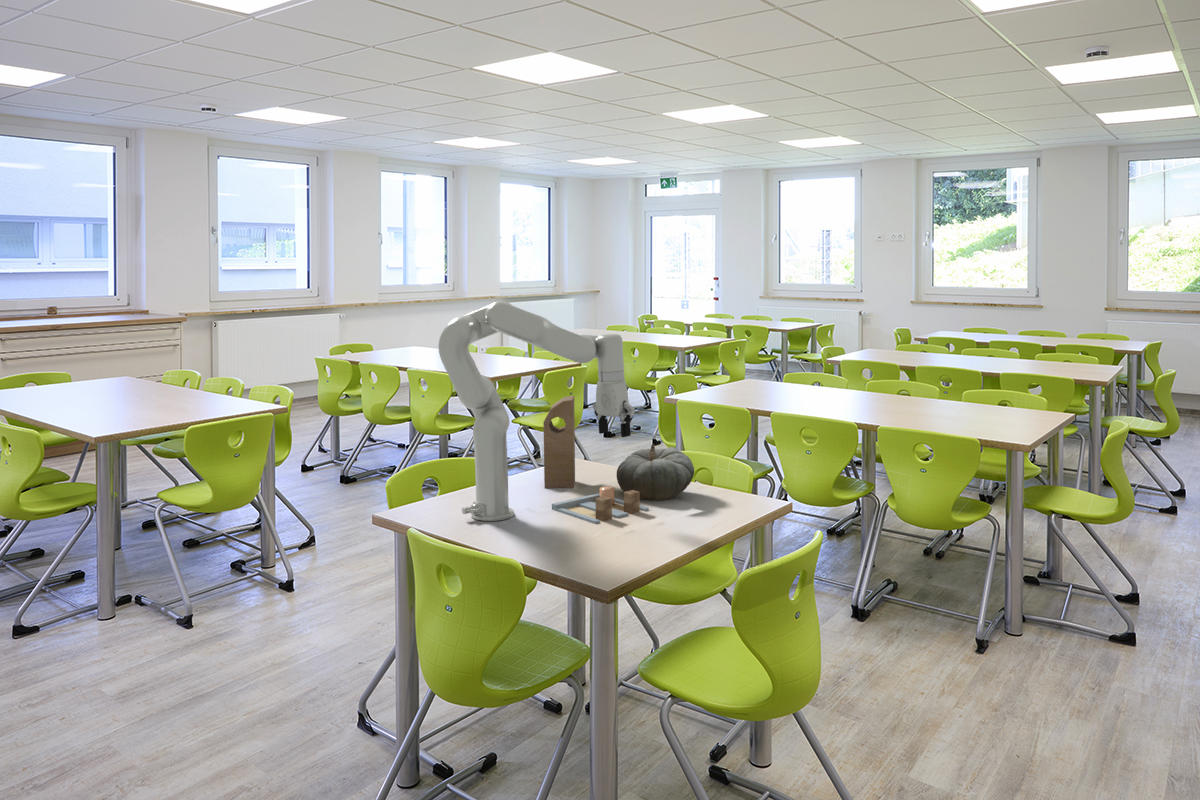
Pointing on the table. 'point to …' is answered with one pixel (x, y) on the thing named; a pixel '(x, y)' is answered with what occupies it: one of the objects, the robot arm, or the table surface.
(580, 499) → the lane frame
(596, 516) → the brown wooden block
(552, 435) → the decorative block
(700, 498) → the table surface
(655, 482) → the gourd
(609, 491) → the peach rounded cylinder
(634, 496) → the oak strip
